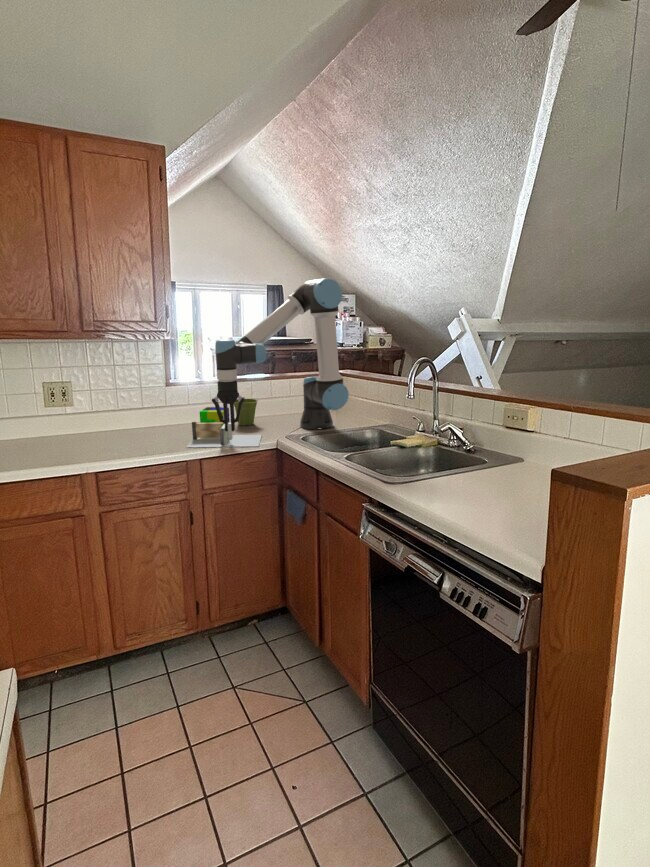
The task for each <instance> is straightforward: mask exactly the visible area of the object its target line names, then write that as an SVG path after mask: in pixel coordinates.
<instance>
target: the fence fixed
mask: <svg viewBox="0 0 650 867" xmlns="http://www.w3.org/2000/svg"><path fill="white" fill-rule="evenodd" d="M222 426H223V423H200V422H197V421H191V429H192V430H191V431H192V432H191V433H192V440H193V439H194V440H196V439H197V438H214V437H220V428H222Z"/></svg>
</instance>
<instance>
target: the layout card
mask: <svg viewBox="0 0 650 867" xmlns="http://www.w3.org/2000/svg"><path fill="white" fill-rule="evenodd" d="M262 436H263V435H262V434H241V435H240V434H233V439H232V440H228V439H227V440H226V442H225V444H224V445H221V444H220V437H214V438H197V439H196V440H194V439H193V438H192V440H191V441H190V442H189V444H188V445H186V449H192V448H193V449H201V448H202V449H204V448H206V449H209V448H210V449H211V448H215V449H216V448H259V447H260V443H261V440H262Z"/></svg>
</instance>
